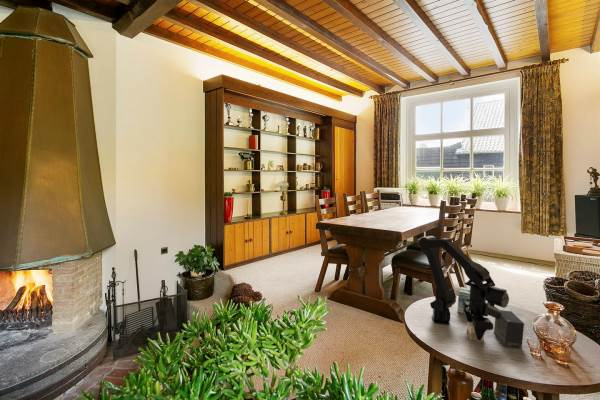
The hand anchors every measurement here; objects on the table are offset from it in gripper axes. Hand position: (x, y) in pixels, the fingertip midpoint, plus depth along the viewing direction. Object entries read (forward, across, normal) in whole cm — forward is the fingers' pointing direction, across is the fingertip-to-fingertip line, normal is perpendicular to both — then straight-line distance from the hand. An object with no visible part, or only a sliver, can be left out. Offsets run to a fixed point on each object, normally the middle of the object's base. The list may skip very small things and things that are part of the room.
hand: (475, 334), depth 125 cm
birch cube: (+1, 0, 0) cm, 1 cm away
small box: (+1, 0, -12) cm, 12 cm away
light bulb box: (+1, +23, -5) cm, 24 cm away
